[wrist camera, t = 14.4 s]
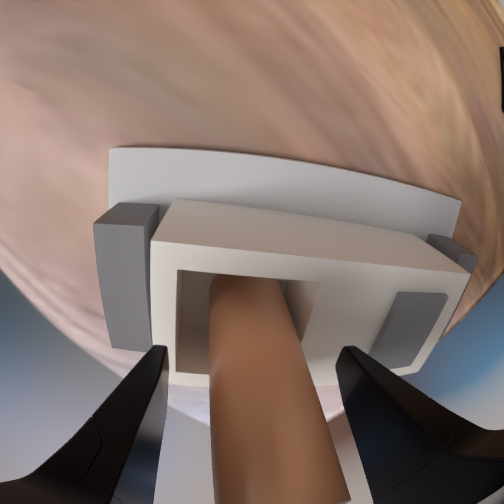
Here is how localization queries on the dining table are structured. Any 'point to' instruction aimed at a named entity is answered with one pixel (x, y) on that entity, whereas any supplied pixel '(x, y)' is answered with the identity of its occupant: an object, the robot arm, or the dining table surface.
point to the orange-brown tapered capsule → (265, 402)
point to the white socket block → (301, 285)
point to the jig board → (243, 194)
